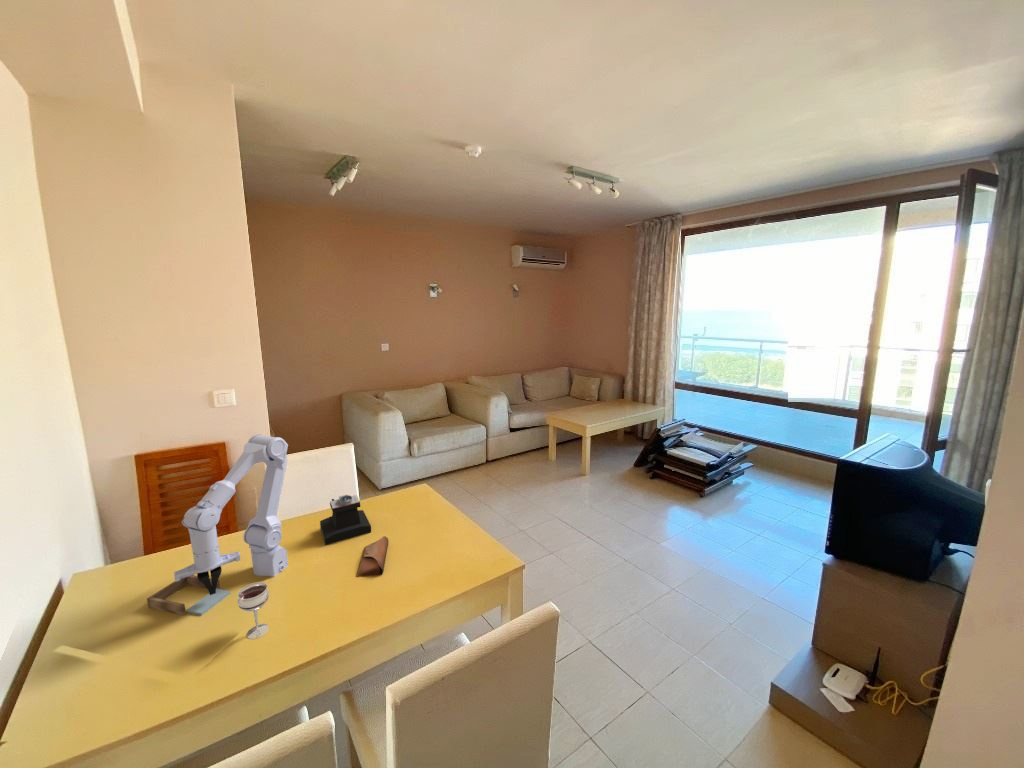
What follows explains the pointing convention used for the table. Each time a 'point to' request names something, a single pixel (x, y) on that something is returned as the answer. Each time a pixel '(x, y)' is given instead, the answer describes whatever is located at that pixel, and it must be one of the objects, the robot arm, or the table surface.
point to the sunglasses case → (373, 558)
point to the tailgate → (208, 602)
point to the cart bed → (170, 606)
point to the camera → (344, 520)
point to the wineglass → (254, 605)
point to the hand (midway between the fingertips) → (212, 592)
